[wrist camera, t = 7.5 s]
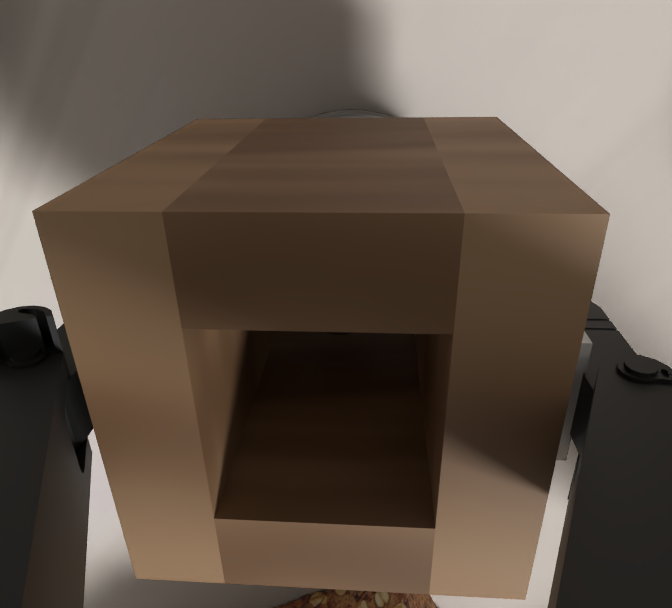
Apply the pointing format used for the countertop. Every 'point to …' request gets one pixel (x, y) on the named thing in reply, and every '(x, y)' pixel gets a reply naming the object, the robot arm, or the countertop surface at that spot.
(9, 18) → the countertop surface
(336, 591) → the bread
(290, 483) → the collar
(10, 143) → the countertop surface
